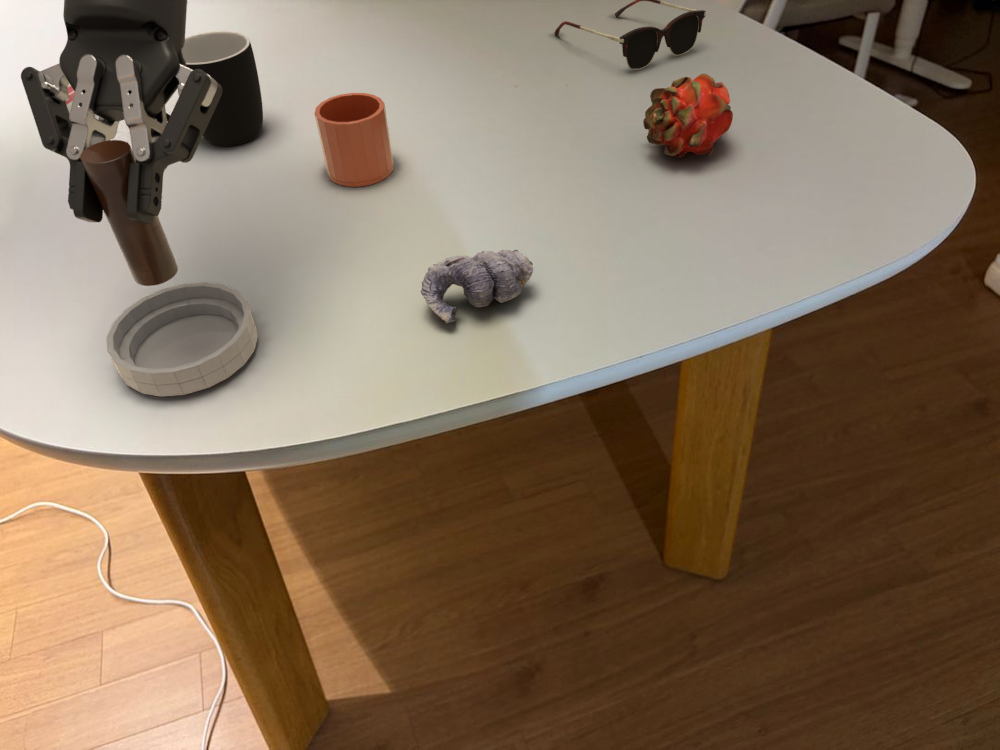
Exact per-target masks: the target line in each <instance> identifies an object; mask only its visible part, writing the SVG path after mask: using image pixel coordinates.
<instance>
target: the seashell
mask: <svg viewBox="0 0 1000 750" xmlns="http://www.w3.org/2000/svg"><path fill="white" fill-rule="evenodd" d="M533 265H534V263H533V261H530V259H529V257H528V256H526V255H525V254H524V253H522V252H520V251H519V250H518V249H514V250H510V249H502V250H499V251H498V252H494V251H488V250H487V251H486V250H481V251H479V252H476V254H475V255H473V256H472V257H471V256H468V255H454V256H450V257H446V258H444V259H443V260H441V261H440V262H437V263H434V264H433V265H430V266H429V267H428V269H427V272H425V275H424V277H423V280H422V281H421V290H420V293H421V295H422V298H423V299H424V300H425V302H426V304H427V305H428V307H429V308H430V310H431V311H433V313H434V314H435V315H437V317H439V318H440V319H441V320H443V321H444V322H445V325H447V324H450V323H453V322H456V321H457V319H456V315H457V313H458V309H457V306H452V305H450V304H448V303H447V302H446V301H445V300H444V296H445V294H446V293H447V291H448V289H449V288H451V286H452V285H455V286H458V287H461V288H462V289H463V296H464V297H465V298H466V301H468V303H469V304H470V305H471V306H473V307H474V308H485V307H488V306H489V305H490V304H491V303H492V302H493V301H494V300H496V301H497V302H499V303H500V304H504V303H505V302H508V301H511V300H513V299H514V298H516V297H518V296H519V295H520V294H521V292H522V288H523V287H525V285H526V283H527V282H528V281H530V279H531V278H532V274H533V273H534V267H533Z"/></svg>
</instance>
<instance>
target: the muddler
mask: <svg viewBox="0 0 1000 750" xmlns="http://www.w3.org/2000/svg"><path fill="white" fill-rule="evenodd" d="M80 159H81V161H82V163H83V166H84V168H85V170H86V172H87V175H88V177H89V179H90V181H91V184H92V186H93V188H94V190H95V193H96V195H97V197H98V199H99V202H100V204H101V206H102V208H103V214H104V215H105V217H106V220H107V222H108V224H109V226H110V229H111V231H112V233H113V235H114V238H115V239H116V241H117V245H118V246H119V249H120V251H121V253H122V256H123V258H124V260H125V262H126V264H127V266H128V269H129V271H130V273H131V275H132V278H133V280H134V281H135V282H136V284H137V285H140V286H145V287H146V286H147V287H153V286H158V285H161V284H164V283H166V282H169V281H170V280H172V279H173V278H174V277H175V276H176V274H177V273H178V271H179V266H178V264H177V261H176V259H175V256H174V253H173V251H172V249H171V246H170V243H169V241H168V238H167V236H166V233H165V231H164V228H163V225H162V223H161V220H160V218H159V215H158V216H154V222H153V223H152V224H140V223H137V222H134V221H132V220H130V219H129V218H128V217H127V196H128V180H129V165H130V163H136V159H135V158H134V157H133V152H132V145H131V144H130V143H129V142H127V141H124V140H120V139H111V140H109V141H103V142H99V143H96V144H94V145H92V146H90V147H88V148H86V149H85V150H84V151H83V152H82V153H81V155H80Z"/></svg>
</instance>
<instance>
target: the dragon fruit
mask: <svg viewBox="0 0 1000 750" xmlns="http://www.w3.org/2000/svg"><path fill="white" fill-rule="evenodd" d="M649 97H650V102H651V105H650V106H649V107H648V108H647V109H646V110H645V112H644V118H643V121H642V123H643V128H644V130H648V132H647V135H646V139H647V142H648V143H649V144H652V145H655V146H662V145H664V149H663V151H664V155H666V156H670V157H673V158H676V159H680V158H682V157H684V156H685V155H686V154H687V153H689V152H690V153H693V154H695V155H697V156H701V155H705V157H709V156H710V155H712V154H713V152H714V149H715V148H714V147H715V146H714V143H715V142H716V141H717V140H719V139H720V137H721V136H724V135H725V134H726V133H727V132H728V131H729V130H730V128H731V126H732V123H733V117H734V113H733V111H732V110H731V105H730V103H731V98H730V93H729V90H728V88H727V86H725V84H724V83H723V82H722V81H719V82H718V81H717V82H716V81H715V79H714V77H712V76H711V75H709V74H708V73H700V74H698V75H697V76H696V77H695V78H693V79H692V78H691V77H688V76H683V77H681V78H678V79H676V80H675V79H674V80H673V81H672V82H671V85H670V86H667V87H659V88H657V87H656V88H654V89H653V90H652V91H651V92H650V95H649Z"/></svg>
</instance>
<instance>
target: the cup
mask: <svg viewBox="0 0 1000 750" xmlns="http://www.w3.org/2000/svg"><path fill="white" fill-rule="evenodd" d="M314 117H315V123H316V127H317V132H318V136H319V140H320V141H319V142H320V144H321V149H322V154H323V159H324V164H325V168H326V171H327V175H328V178H329V179H330V180H331V181H332V182H333V183H334V184H337V185H339V186H343V187H349V188H350V187H351V188H359V187H360V188H361V187H366V186H371V185H374V184H377V183H380V182H382V181H384V180H385V179H386V178H388V177H389V176H390V175H391V174H392V173H393V171H394V158H393V150H392V143H391V137H390V129H389V124H388V118H387V112H386V106H385V102H384V101H383V100H382V97H379V96H377V95H375V94H373V93H372V94H371V93H367V92H348V93H341V94H337V95H334V96H331V97H328V98H327V99H324V100H323V101H321V102H320V103H319V104H318V105H317V106H315V109H314Z"/></svg>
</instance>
